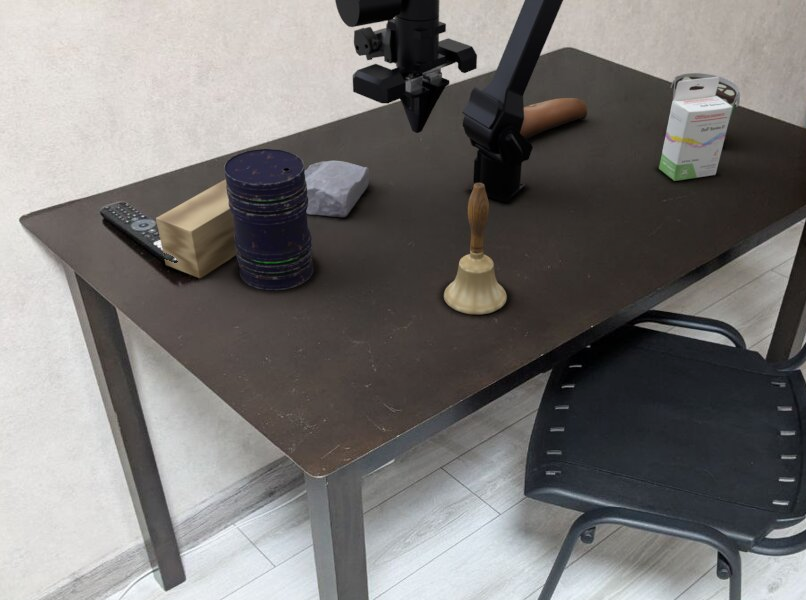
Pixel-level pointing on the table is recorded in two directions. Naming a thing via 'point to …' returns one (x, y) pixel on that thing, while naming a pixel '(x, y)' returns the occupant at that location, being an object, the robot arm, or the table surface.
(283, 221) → the blue barrel
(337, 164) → the stone block
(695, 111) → the ink box
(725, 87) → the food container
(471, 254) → the hand bell
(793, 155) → the table surface
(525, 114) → the sunglasses case
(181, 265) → the birch block
